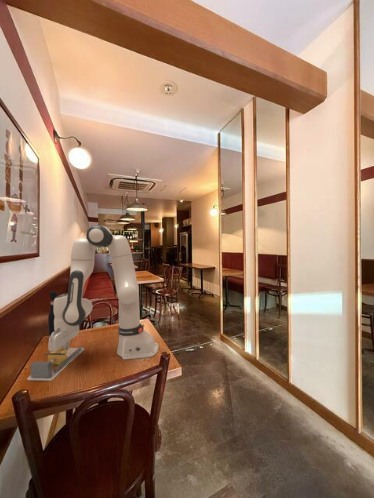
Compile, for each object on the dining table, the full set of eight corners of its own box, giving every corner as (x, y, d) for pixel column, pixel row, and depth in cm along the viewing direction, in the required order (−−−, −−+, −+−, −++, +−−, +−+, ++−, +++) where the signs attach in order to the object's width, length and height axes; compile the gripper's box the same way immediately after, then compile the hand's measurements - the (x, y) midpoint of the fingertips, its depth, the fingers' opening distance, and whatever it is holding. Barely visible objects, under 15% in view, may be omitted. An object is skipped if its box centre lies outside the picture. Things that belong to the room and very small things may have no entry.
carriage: (71, 358, 106) (70, 348, 105) (59, 369, 97) (58, 358, 96) (51, 358, 106) (51, 348, 106) (37, 369, 97) (37, 358, 97)
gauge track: (84, 349, 117) (83, 337, 117) (51, 380, 91) (50, 365, 91) (65, 349, 118) (64, 337, 117) (27, 380, 92) (26, 364, 91)
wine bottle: (59, 336, 135) (57, 290, 134) (62, 338, 131) (60, 291, 130) (47, 339, 130) (45, 292, 129) (51, 342, 126) (49, 293, 125)
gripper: (56, 333, 98) (58, 362, 99) (80, 317, 119) (81, 341, 119) (43, 333, 98) (45, 362, 99) (70, 317, 119) (71, 341, 119)
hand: (65, 351), depth 109 cm, fingers closed
